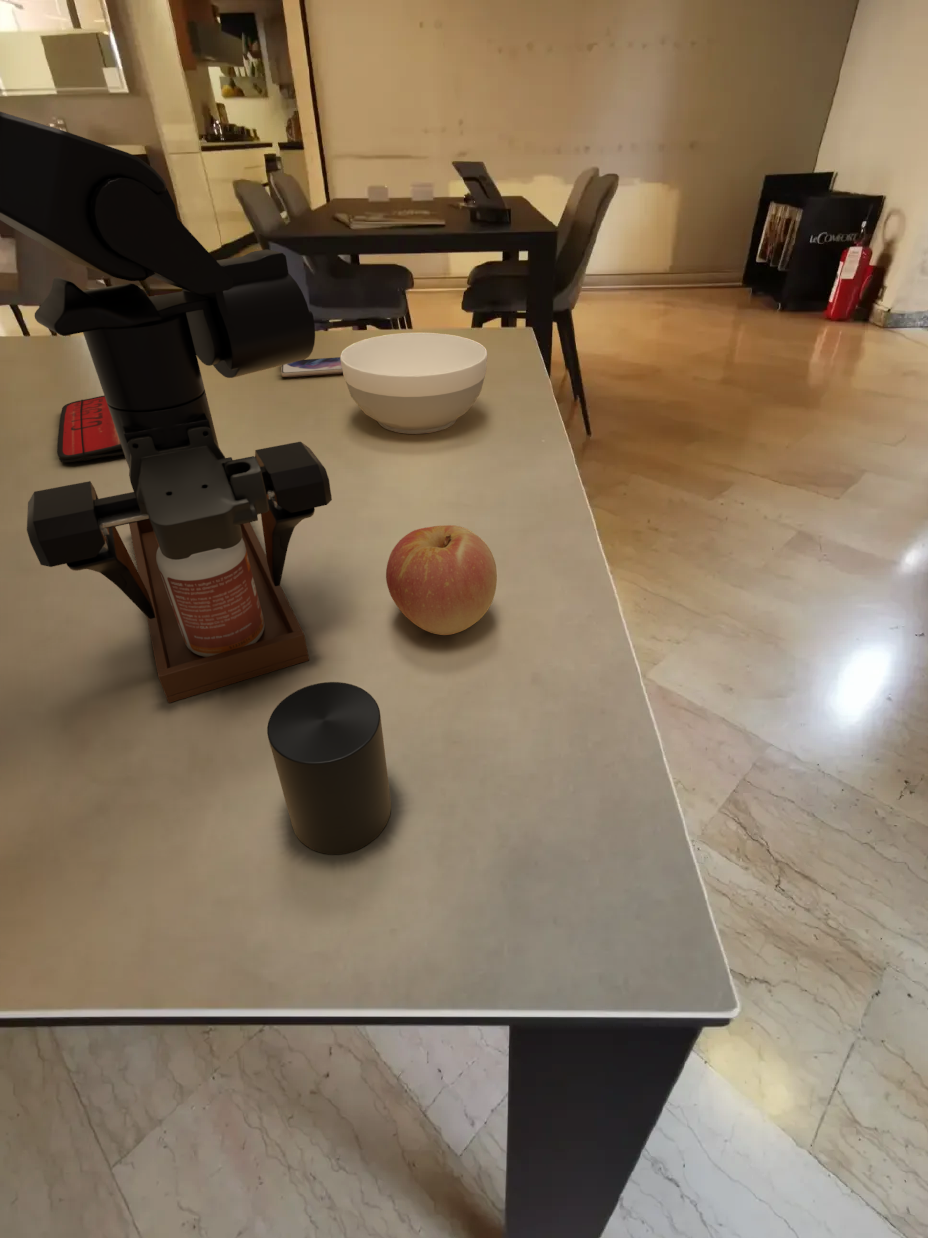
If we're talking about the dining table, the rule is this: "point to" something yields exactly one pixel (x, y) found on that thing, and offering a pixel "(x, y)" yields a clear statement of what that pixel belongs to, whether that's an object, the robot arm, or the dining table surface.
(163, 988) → the dining table surface
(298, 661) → the walnut tray
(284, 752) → the charcoal tin
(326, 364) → the smartphone
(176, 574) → the pill bottle
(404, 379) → the bowl
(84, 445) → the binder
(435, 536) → the apple
